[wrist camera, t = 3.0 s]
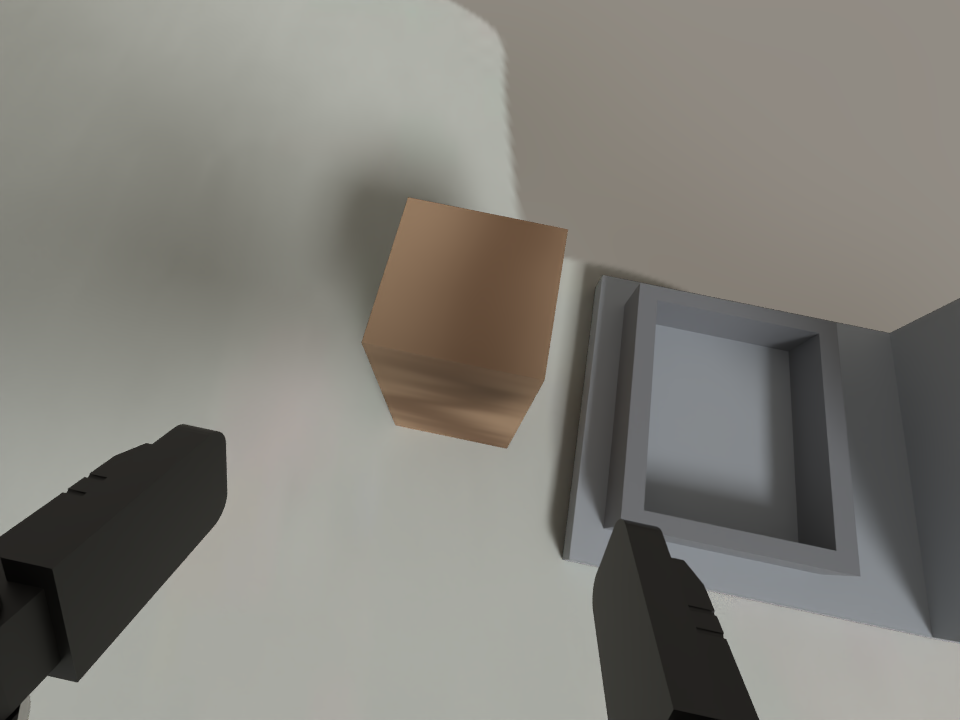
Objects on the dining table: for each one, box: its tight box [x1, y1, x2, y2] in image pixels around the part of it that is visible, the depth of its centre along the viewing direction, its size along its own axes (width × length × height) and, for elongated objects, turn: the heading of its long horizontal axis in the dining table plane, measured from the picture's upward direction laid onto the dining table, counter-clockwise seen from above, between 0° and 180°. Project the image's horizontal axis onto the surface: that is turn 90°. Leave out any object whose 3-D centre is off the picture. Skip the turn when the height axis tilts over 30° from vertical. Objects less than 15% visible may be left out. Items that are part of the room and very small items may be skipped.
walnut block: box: [362, 197, 568, 448], centre depth 18 cm, size 5×6×9 cm
